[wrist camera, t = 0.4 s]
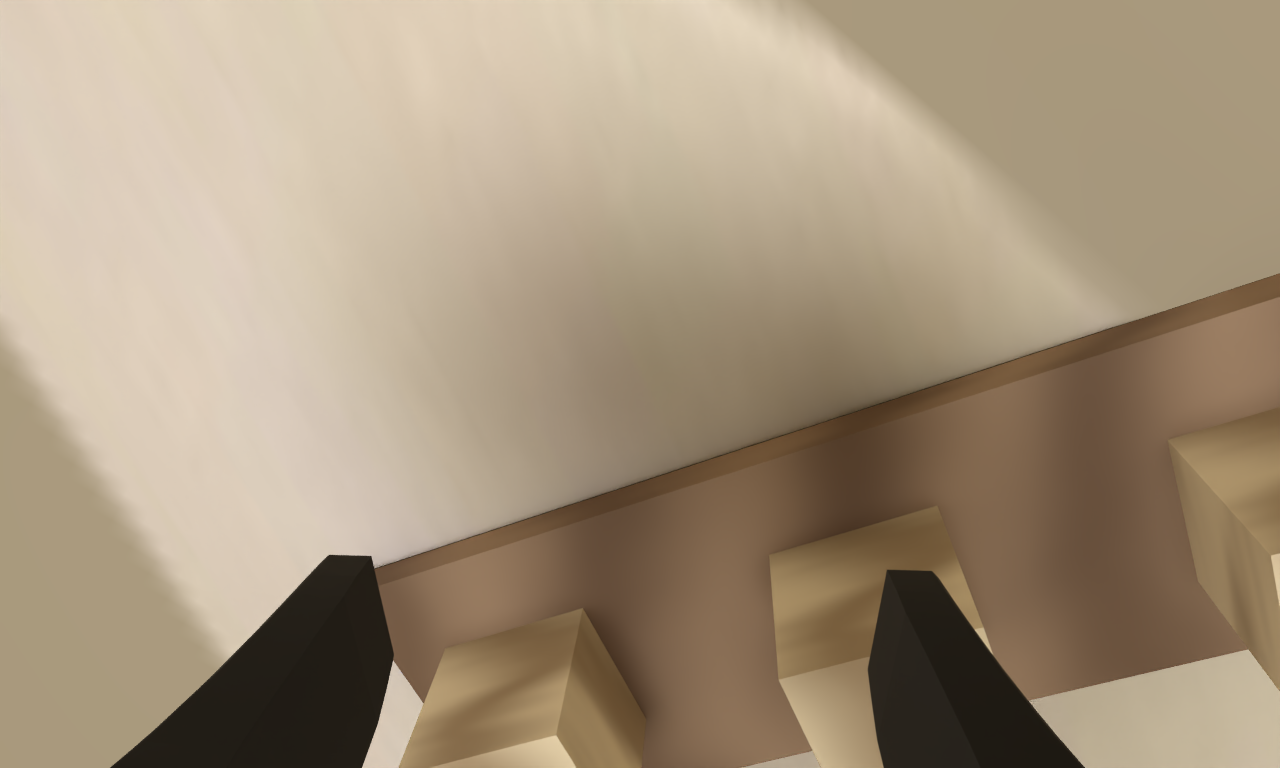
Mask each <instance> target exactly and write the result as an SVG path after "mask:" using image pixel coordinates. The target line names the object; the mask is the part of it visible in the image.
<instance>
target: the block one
mask: <svg viewBox="0 0 1280 768" xmlns="http://www.w3.org/2000/svg"><path fill="white" fill-rule="evenodd" d="M1168 445H1169V450H1170V454H1171V459H1172V463H1173V468H1174V473H1175V477H1176V482H1177V486H1178V491H1179V496H1180V500H1181V505H1182V509H1183V514H1184V519H1185V523H1186V528H1187V532H1188V537H1189V542H1190V546H1191V551H1192V555H1193V560H1194V565H1195V569H1196V574H1197V578H1198V582H1199V583H1200V585H1201V586H1202V587H1203V589H1204V590H1205V591H1206V593H1207V594H1208V595H1209V597H1210V598H1211V599H1212V601H1213V602H1214V603H1215V605H1216V606H1217V607H1218V609H1219V610H1220V612H1221V613H1222V614H1223V616H1224V617H1225V618H1226V620H1227V621H1228V622H1229V624H1230V625H1231V626H1232V628H1233V629H1234V630H1235V632H1236V633H1237V634H1238V636H1239V637H1240V638H1241V640H1242V641H1243V642H1244V644H1245V645H1246V646H1247V648H1248V649H1249V651H1250V652H1251V653H1252V655H1253V656H1254V657H1255V659H1256V660H1257V661H1258V663H1259V664H1260V665H1261V667H1262V668H1263V669H1264V671H1265V672H1266V673H1267V675H1268V676H1269V677H1270V679H1271V680H1272V681H1273V683H1274V684H1275V686H1276V687H1277V688H1278V690H1279V691H1280V407H1278V408H1275V409H1271V410H1268V411H1264V412H1261V413H1257V414H1254V415H1251V416H1247V417H1244V418H1240V419H1237V420H1234V421H1230V422H1227V423H1223V424H1220V425H1217V426H1213V427H1210V428H1206V429H1203V430H1199V431H1196V432H1193V433H1189V434H1186V435H1182V436H1179V437H1176V438H1172V439H1169V440H1168Z"/></svg>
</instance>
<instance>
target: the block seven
mask: <svg viewBox="0 0 1280 768" xmlns="http://www.w3.org/2000/svg"><path fill="white" fill-rule="evenodd" d="M645 727H646V718H645V716H644V714H643V712H642V711H641V709H640V707H639V705H638V704H637V702H636V700H635V698H634V697H633V695H632V693H631V692H630V690H629V688H628V686H627V685H626V683H625V681H624V679H623V678H622V676H621V674H620V672H619V671H618V669H617V667H616V665H615V664H614V662H613V660H612V658H611V657H610V655H609V653H608V651H607V650H606V648H605V646H604V644H603V643H602V641H601V639H600V637H599V636H598V634H597V632H596V630H595V629H594V627H593V625H592V623H591V622H590V620H589V618H588V616H587V615H586V613H585V611H584V609H583V608H582V609H578V610H575V611H571V612H568V613H565V614H561V615H558V616H554V617H551V618H548V619H544V620H541V621H537V622H534V623H531V624H527V625H524V626H520V627H517V628H514V629H510V630H507V631H503V632H500V633H497V634H493V635H490V636H486V637H483V638H479V639H476V640H473V641H469V642H466V643H462V644H459V645H456V646H452V647H449V648H445V651H444V654H443V656H442V659H441V661H440V664H439V666H438V669H437V671H436V674H435V676H434V679H433V681H432V684H431V687H430V689H429V692H428V694H427V697H426V699H425V702H424V704H423V707H422V709H421V712H420V715H419V717H418V720H417V722H416V725H415V727H414V730H413V732H412V735H411V737H410V740H409V743H408V745H407V748H406V750H405V753H404V755H403V758H402V760H401V763H400V765H399V768H641V767H642V757H643V747H644V737H645Z"/></svg>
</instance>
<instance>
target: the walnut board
mask: <svg viewBox="0 0 1280 768" xmlns="http://www.w3.org/2000/svg"><path fill="white" fill-rule="evenodd" d="M1278 407H1280V274H1276V275H1274V276H1271V277H1267V278H1264V279H1261V280H1258V281H1255V282H1252V283H1249V284H1246V285H1243V286H1240V287H1237V288H1234V289H1231V290H1228V291H1225V292H1221V293H1218V294H1216V295H1213V296H1209V297H1206V298H1203V299H1200V300H1197V301H1194V302H1191V303H1188V304H1185V305H1182V306H1179V307H1175V308H1172V309H1169V310H1166V311H1163V312H1160V313H1157V314H1154V315H1151V316H1148V317H1145V318H1142V319H1139V320H1136V321H1133V322H1130V323H1126V324H1123V325H1120V326H1117V327H1114V328H1111V329H1108V330H1105V331H1102V332H1099V333H1096V334H1093V335H1090V336H1087V337H1084V338H1081V339H1078V340H1074V341H1071V342H1068V343H1065V344H1062V345H1059V346H1056V347H1053V348H1050V349H1047V350H1044V351H1041V352H1038V353H1035V354H1032V355H1029V356H1025V357H1022V358H1019V359H1016V360H1013V361H1010V362H1007V363H1004V364H1001V365H998V366H995V367H992V368H989V369H986V370H983V371H980V372H976V373H973V374H970V375H967V376H964V377H961V378H958V379H955V380H952V381H949V382H946V383H943V384H940V385H937V386H934V387H931V388H928V389H924V390H921V391H918V392H915V393H912V394H909V395H906V396H903V397H900V398H897V399H894V400H891V401H888V402H885V403H882V404H879V405H875V406H872V407H869V408H866V409H863V410H860V411H857V412H854V413H851V414H848V415H845V416H842V417H839V418H836V419H833V420H830V421H826V422H823V423H820V424H817V425H814V426H811V427H808V428H805V429H802V430H799V431H796V432H793V433H790V434H787V435H784V436H781V437H778V438H774V439H771V440H768V441H765V442H762V443H759V444H756V445H753V446H750V447H747V448H744V449H741V450H738V451H735V452H732V453H729V454H725V455H722V456H719V457H716V458H713V459H710V460H707V461H704V462H701V463H698V464H695V465H692V466H689V467H686V468H683V469H680V470H676V471H673V472H670V473H667V474H664V475H661V476H658V477H655V478H652V479H649V480H646V481H643V482H640V483H637V484H634V485H631V486H628V487H624V488H621V489H618V490H615V491H612V492H609V493H606V494H603V495H600V496H597V497H594V498H591V499H588V500H585V501H582V502H579V503H575V504H572V505H569V506H566V507H563V508H560V509H557V510H554V511H551V512H548V513H545V514H542V515H539V516H536V517H533V518H530V519H527V520H523V521H520V522H517V523H514V524H511V525H508V526H505V527H502V528H499V529H496V530H493V531H490V532H487V533H484V534H481V535H478V536H474V537H471V538H468V539H465V540H462V541H459V542H456V543H453V544H450V545H447V546H444V547H441V548H438V549H435V550H432V551H429V552H425V553H422V554H419V555H416V556H413V557H410V558H407V559H404V560H401V561H398V562H395V563H392V564H389V565H386V566H383V567H380V568H377V569H374V570H375V574H376V579H377V583H378V587H379V591H380V596H381V600H382V604H383V609H384V613H385V617H386V621H387V626H388V630H389V634H390V639H391V643H392V647H393V652H394V658H393V660H394V662H395V663H396V665H397V666H398V667H399V669H400V670H401V672H402V673H403V675H404V676H405V677H406V679H407V680H408V682H409V683H410V685H411V686H412V687H413V689H414V690H415V692H416V693H417V695H418V696H419V697H420V699H421V700H422V702H423V703H424V702H425V699H426V697H427V694H428V692H429V689H430V687H431V684H432V681H433V679H434V676H435V674H436V671H437V669H438V666H439V664H440V661H441V659H442V656H443V654H444V651H445V648H449V647H452V646H456V645H459V644H462V643H466V642H469V641H473V640H476V639H479V638H483V637H486V636H490V635H493V634H497V633H500V632H503V631H507V630H510V629H514V628H517V627H520V626H524V625H527V624H531V623H534V622H537V621H541V620H544V619H548V618H551V617H554V616H558V615H561V614H565V613H568V612H571V611H575V610H578V609H582V608H583V609H584V611H585V613H586V615H587V616H588V618H589V620H590V622H591V623H592V625H593V627H594V629H595V630H596V632H597V634H598V636H599V637H600V639H601V641H602V643H603V644H604V646H605V648H606V650H607V651H608V653H609V655H610V657H611V658H612V660H613V662H614V664H615V665H616V667H617V669H618V671H619V672H620V674H621V676H622V678H623V679H624V681H625V683H626V685H627V686H628V688H629V690H630V692H631V693H632V695H633V697H634V698H635V700H636V702H637V704H638V705H639V707H640V709H641V711H642V712H643V714H644V716H645V718H646V727H645V737H644V747H643V757H642V767H641V768H741V767H745V766H749V765H754V764H758V763H762V762H766V761H771V760H775V759H779V758H784V757H788V756H792V755H796V754H801V753H805V752H809V751H813V750H812V748H811V746H810V744H809V742H808V740H807V738H806V736H805V734H804V732H803V730H802V728H801V725H800V723H799V721H798V719H797V717H796V715H795V713H794V711H793V709H792V707H791V705H790V703H789V700H788V698H787V696H786V694H785V692H784V690H783V688H782V686H781V684H780V682H779V679H778V666H777V652H776V639H775V626H774V612H773V599H772V586H771V573H770V559H769V555H771V554H774V553H778V552H781V551H784V550H788V549H791V548H795V547H798V546H801V545H805V544H808V543H812V542H815V541H818V540H822V539H825V538H829V537H832V536H836V535H839V534H842V533H846V532H849V531H853V530H856V529H859V528H863V527H866V526H870V525H873V524H876V523H880V522H883V521H887V520H890V519H893V518H897V517H900V516H904V515H907V514H911V513H914V512H917V511H921V510H924V509H928V508H931V507H934V506H938V509H939V512H940V514H941V517H942V519H943V522H944V525H945V527H946V530H947V533H948V535H949V538H950V540H951V543H952V546H953V548H954V551H955V554H956V556H957V559H958V562H959V564H960V567H961V569H962V572H963V575H964V577H965V580H966V583H967V585H968V588H969V590H970V593H971V596H972V598H973V601H974V604H975V606H976V609H977V611H978V614H979V617H980V619H981V622H982V625H983V627H984V630H985V633H986V636H987V639H988V642H989V645H990V647H991V650H992V653H993V656H994V657H995V658H996V660H997V661H998V662H999V664H1000V665H1001V666H1002V668H1003V669H1004V670H1005V672H1006V673H1007V674H1008V676H1009V677H1010V678H1011V679H1012V681H1013V682H1014V683H1015V684H1016V686H1017V687H1018V688H1019V690H1020V691H1021V692H1022V693H1023V695H1024V696H1025V697H1026V698H1027V700H1032V699H1037V698H1041V697H1045V696H1049V695H1054V694H1058V693H1062V692H1067V691H1071V690H1075V689H1079V688H1084V687H1088V686H1092V685H1097V684H1101V683H1105V682H1110V681H1114V680H1118V679H1122V678H1127V677H1131V676H1135V675H1140V674H1144V673H1148V672H1152V671H1157V670H1161V669H1165V668H1170V667H1174V666H1178V665H1182V664H1187V663H1191V662H1195V661H1200V660H1204V659H1208V658H1212V657H1217V656H1221V655H1225V654H1230V653H1234V652H1238V651H1242V650H1247V649H1248V648H1247V646H1246V645H1245V644H1244V642H1243V641H1242V640H1241V638H1240V637H1239V636H1238V634H1237V633H1236V632H1235V630H1234V629H1233V628H1232V626H1231V625H1230V624H1229V622H1228V621H1227V620H1226V618H1225V617H1224V616H1223V614H1222V613H1221V612H1220V610H1219V609H1218V607H1217V606H1216V605H1215V603H1214V602H1213V601H1212V599H1211V598H1210V597H1209V595H1208V594H1207V593H1206V591H1205V590H1204V589H1203V587H1202V586H1201V585H1200V583H1199V582H1198V578H1197V574H1196V569H1195V565H1194V560H1193V555H1192V551H1191V546H1190V542H1189V537H1188V532H1187V528H1186V523H1185V519H1184V514H1183V509H1182V505H1181V500H1180V496H1179V491H1178V486H1177V482H1176V477H1175V473H1174V468H1173V463H1172V459H1171V454H1170V450H1169V445H1168V440H1169V439H1172V438H1176V437H1179V436H1182V435H1186V434H1189V433H1193V432H1196V431H1199V430H1203V429H1206V428H1210V427H1213V426H1217V425H1220V424H1223V423H1227V422H1230V421H1234V420H1237V419H1240V418H1244V417H1247V416H1251V415H1254V414H1257V413H1261V412H1264V411H1268V410H1271V409H1275V408H1278Z"/></svg>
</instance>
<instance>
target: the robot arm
mask: <svg viewBox="0 0 1280 768" xmlns="http://www.w3.org/2000/svg"><path fill="white" fill-rule="evenodd" d="M393 658H394V652H393V647H392V643H391V639H390V634H389V630H388V626H387V621H386V617H385V613H384V609H383V604H382V600H381V596H380V591H379V587H378V583H377V579H376V574H375V570H374V566H373V561H372V557H371V556H349V555H329V556H327V557H326V558H325V559H324V560H323V561H322V562H321V563H320V564H319V565H318V566H317V567H316V568H315V569H314V570H313V571H312V573H311V574H310V575H309V576H308V577H307V578H306V579H305V580H304V581H303V582H302V583H301V584H300V585H299V586H298V587H297V589H296V590H295V591H294V592H293V593H292V594H291V595H290V596H289V597H288V598H287V599H286V600H285V601H284V602H283V603H282V605H281V606H280V607H279V608H278V609H277V610H276V611H275V612H274V613H273V614H272V615H271V616H270V617H269V618H268V619H267V620H266V621H265V622H264V624H263V625H262V626H261V627H260V628H259V629H258V630H257V631H256V632H255V633H254V634H253V635H252V636H251V637H250V638H249V639H248V640H247V641H246V642H245V643H244V644H243V645H242V646H241V647H240V648H239V649H238V650H237V651H236V652H235V653H234V654H233V655H232V656H231V657H230V658H229V659H228V660H227V661H226V662H225V663H224V664H223V665H222V666H221V667H220V668H219V669H218V670H217V671H216V672H215V673H214V674H213V675H212V676H211V677H210V678H209V679H208V680H207V681H206V682H205V683H204V684H203V685H202V686H201V687H200V688H199V689H198V690H197V691H196V692H195V693H194V694H192V695H191V696H190V697H189V698H188V699H187V700H186V701H185V702H184V703H183V704H182V705H181V706H179V707H178V708H177V709H176V710H175V711H174V712H173V713H172V714H171V715H170V716H169V717H168V718H167V719H166V720H165V721H163V722H162V723H161V724H160V725H159V726H158V727H157V728H156V729H155V730H154V731H153V732H151V733H150V734H149V735H148V736H147V737H146V738H144V739H143V740H142V741H141V742H140V743H139V744H138V745H136V746H135V747H134V748H133V749H132V750H131V751H129V752H128V753H127V754H126V755H125V756H124V757H122V758H121V759H120V760H119V761H118V762H116V763H115V764H114V765H113V766H112V767H111V768H362V766H363V763H364V760H365V758H366V755H367V752H368V749H369V747H370V744H371V741H372V738H373V736H374V733H375V730H376V727H377V724H378V721H379V717H380V713H381V709H382V705H383V701H384V697H385V693H386V689H387V684H388V680H389V675H390V671H391V667H392V662H393ZM868 677H869V685H870V693H871V701H872V709H873V715H874V722H875V729H876V736H877V742H878V746H879V751H880V755H881V759H882V763H883V767H884V768H1085V767H1084V766H1083V765H1082V764H1081V763H1080V762H1079V761H1078V759H1077V758H1076V757H1075V756H1074V755H1073V754H1072V752H1071V751H1070V750H1069V749H1068V748H1067V747H1066V746H1065V744H1064V743H1063V742H1062V741H1061V740H1060V739H1059V738H1058V736H1057V735H1056V734H1055V733H1054V732H1053V730H1052V729H1051V728H1050V727H1049V726H1048V724H1047V723H1046V722H1045V721H1044V720H1043V718H1042V717H1041V716H1040V715H1039V714H1038V712H1037V711H1036V710H1035V709H1034V707H1033V706H1032V705H1031V703H1030V702H1029V701H1028V700H1027V698H1026V697H1025V696H1024V695H1023V693H1022V692H1021V691H1020V690H1019V688H1018V687H1017V686H1016V684H1015V683H1014V682H1013V681H1012V679H1011V678H1010V677H1009V676H1008V674H1007V673H1006V672H1005V670H1004V669H1003V668H1002V666H1001V665H1000V664H999V662H998V661H997V660H996V658H995V657H994V656H993V654H992V653H991V652H990V650H989V649H988V648H987V646H986V645H985V644H984V642H983V641H982V639H981V638H980V637H979V635H978V634H977V633H976V631H975V630H974V628H973V627H972V626H971V624H970V623H969V621H968V620H967V618H966V617H965V616H964V614H963V613H962V611H961V610H960V608H959V607H958V606H957V604H956V603H955V601H954V600H953V598H952V597H951V595H950V594H949V592H948V591H947V589H946V588H945V587H944V585H943V584H942V582H941V581H940V579H939V578H938V577H937V576H936V574H935V573H934V572H933V571H920V570H887V572H886V577H885V582H884V587H883V592H882V598H881V603H880V608H879V613H878V618H877V623H876V628H875V634H874V639H873V644H872V649H871V654H870V659H869V664H868Z"/></svg>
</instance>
